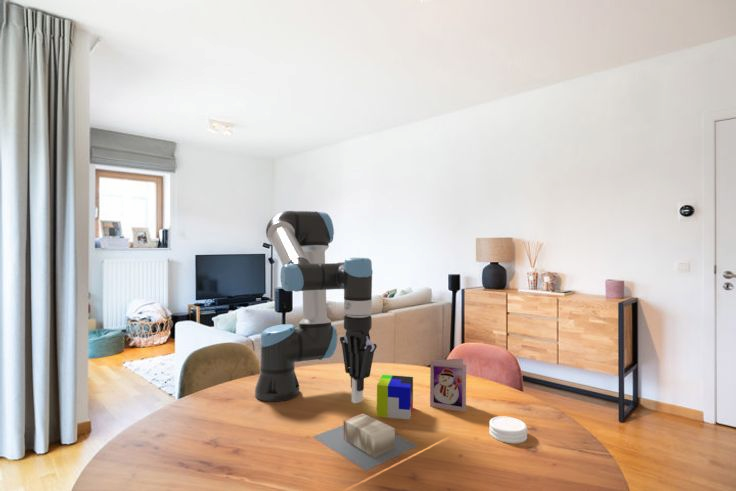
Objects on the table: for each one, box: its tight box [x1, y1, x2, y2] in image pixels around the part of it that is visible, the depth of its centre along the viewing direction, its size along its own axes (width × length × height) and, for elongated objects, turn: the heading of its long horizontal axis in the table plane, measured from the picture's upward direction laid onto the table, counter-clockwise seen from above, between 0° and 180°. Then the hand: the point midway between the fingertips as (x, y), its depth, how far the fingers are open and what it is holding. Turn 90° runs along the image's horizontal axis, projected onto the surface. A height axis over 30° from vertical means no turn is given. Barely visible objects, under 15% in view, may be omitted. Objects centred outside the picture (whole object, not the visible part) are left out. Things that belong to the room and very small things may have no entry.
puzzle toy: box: [376, 374, 414, 420], centre depth 128 cm, size 10×10×10 cm
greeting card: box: [429, 358, 467, 413], centre depth 134 cm, size 11×7×15 cm, turn 68°
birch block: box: [343, 413, 396, 457], centre depth 108 cm, size 5×7×12 cm
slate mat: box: [312, 424, 419, 472], centre depth 109 cm, size 22×18×1 cm
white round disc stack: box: [488, 415, 528, 444], centre depth 114 cm, size 10×10×4 cm
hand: (357, 401), depth 111 cm, fingers closed
